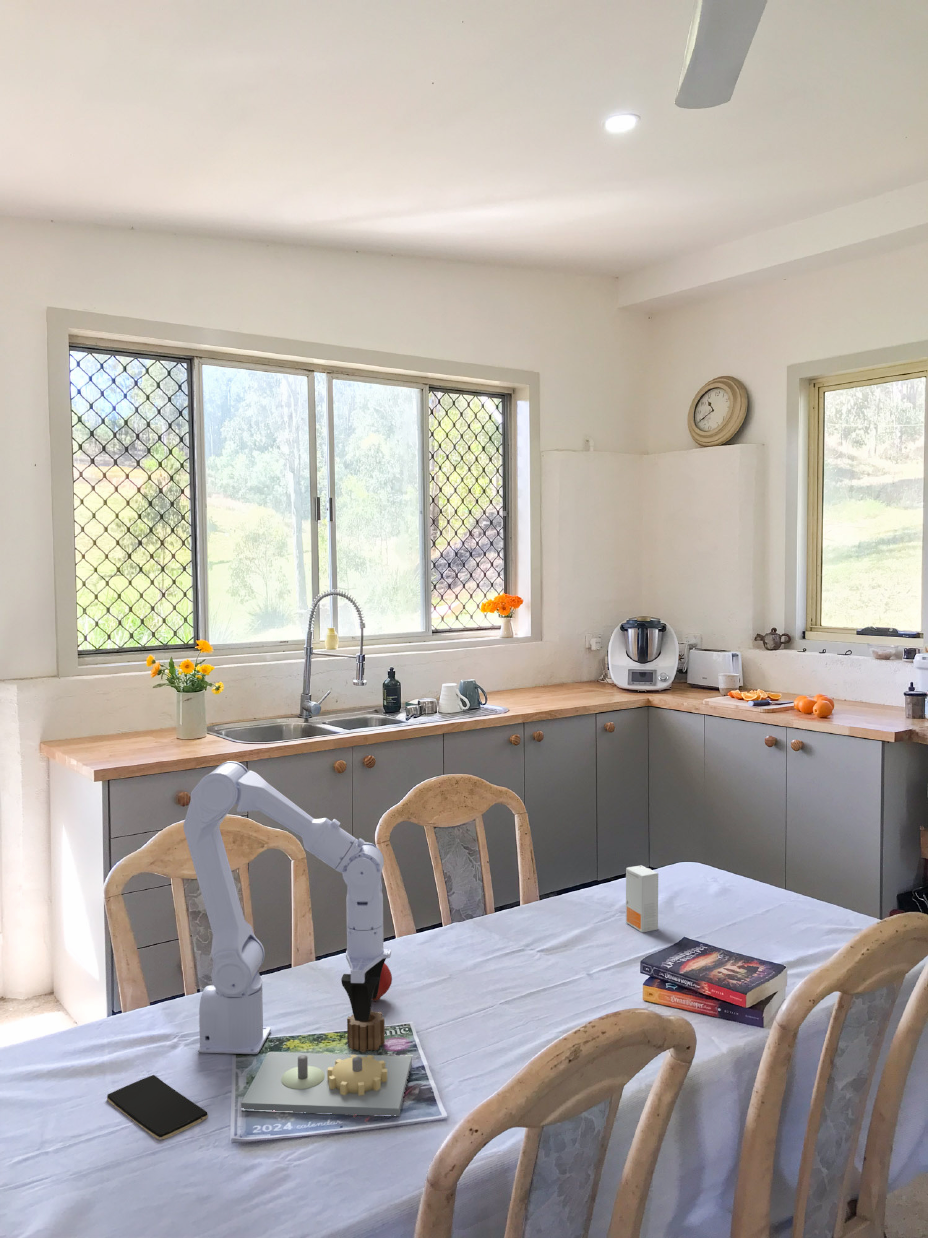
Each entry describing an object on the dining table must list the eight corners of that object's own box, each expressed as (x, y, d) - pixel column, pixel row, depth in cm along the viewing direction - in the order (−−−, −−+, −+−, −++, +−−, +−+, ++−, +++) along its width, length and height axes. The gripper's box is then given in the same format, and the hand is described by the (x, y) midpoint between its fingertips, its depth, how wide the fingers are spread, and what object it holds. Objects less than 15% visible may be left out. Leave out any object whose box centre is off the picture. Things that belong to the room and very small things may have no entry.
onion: (351, 1003, 166) (351, 958, 166) (370, 990, 171) (369, 946, 171) (380, 1010, 163) (379, 964, 163) (398, 997, 168) (397, 952, 168)
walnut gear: (344, 1051, 150) (344, 1026, 149) (351, 1033, 155) (351, 1009, 155) (381, 1052, 149) (381, 1027, 149) (387, 1034, 155) (386, 1010, 155)
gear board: (241, 1111, 133) (240, 1082, 133) (268, 1059, 147) (268, 1032, 147) (398, 1117, 132) (398, 1087, 132) (411, 1064, 146) (411, 1037, 146)
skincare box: (624, 923, 202) (625, 867, 202) (641, 920, 204) (641, 864, 204) (641, 933, 197) (642, 876, 196) (658, 930, 199) (659, 873, 198)
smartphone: (153, 1073, 142) (209, 1112, 132) (153, 1081, 142) (209, 1120, 132) (105, 1094, 137) (160, 1136, 126) (105, 1102, 137) (160, 1145, 126)
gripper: (383, 942, 144) (384, 1031, 144) (396, 908, 158) (397, 988, 159) (336, 941, 144) (337, 1030, 145) (354, 907, 159) (355, 988, 159)
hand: (366, 1008), depth 152 cm, fingers open, 7 cm apart
